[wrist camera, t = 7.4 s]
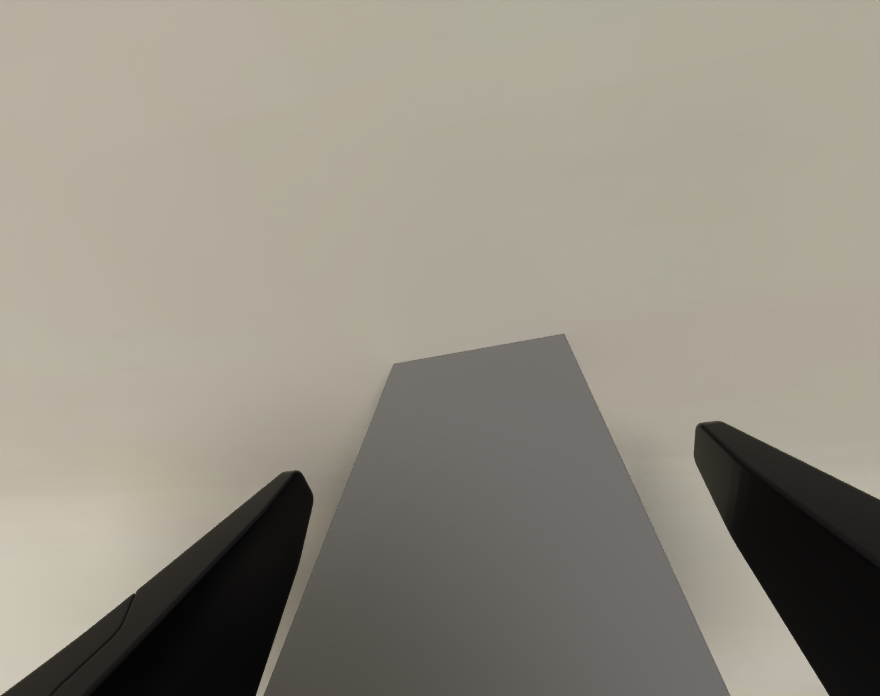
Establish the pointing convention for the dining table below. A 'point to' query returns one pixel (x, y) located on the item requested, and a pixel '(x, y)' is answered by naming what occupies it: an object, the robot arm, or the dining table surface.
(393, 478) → the domino
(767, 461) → the robot arm
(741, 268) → the dining table surface
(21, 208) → the dining table surface
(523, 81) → the dining table surface
